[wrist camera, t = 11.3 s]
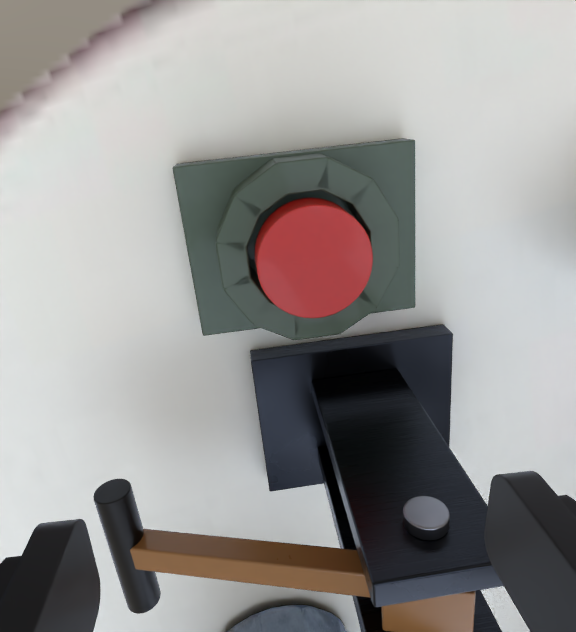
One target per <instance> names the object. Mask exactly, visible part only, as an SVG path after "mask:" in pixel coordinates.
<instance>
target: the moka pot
mask: <svg viewBox="0 0 576 632" xmlns="http://www.w3.org/2000/svg"><path fill="white" fill-rule="evenodd" d="M227 632H346V630H345V627H344V625H343V623H342V622H341V620H340V619H339V618H338V617H336V616H335V615H333V614H332V613H331V612H327V611H324V610H321V609H317V608H315V607H312V606H307V605H287V606H281V607H273V608H270V609H267V610H264V611H261V612H259V613H257V614H254V615H251V616H249V617H248V618H246V619H245V620H243V621H242V622H240V623H238V624H236V625H235V626H234V627H232V628H231V629H230V630H228V631H227Z"/></svg>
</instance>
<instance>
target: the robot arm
mask: <svg viewBox="0 0 576 632" xmlns="http://www.w3.org/2000/svg"><path fill="white" fill-rule="evenodd" d="M484 540H485V546H486V551H487V554H488V557H489V560H490V562H491V564H492V566H493V568H494V570H495V571H496V573H497V575H498V577H499V578H500V580H501V582H502V583H503V585H504V587H505V589H506V590H507V592H508V594H509V595H510V597H511V599H512V601H513V602H514V604H515V606H516V608H517V609H518V611H519V613H520V614H521V616H522V618H523V620H524V621H525V623H526V625H527V626H528V628H529V630H530V632H576V501H575V500H574V499H572V498H571V497H569V496H567V495H563V496H557V494H556V493H555V492H554V491H553V490H552V489H551V487H550V486H549V485H548V484H547V483H546V482H545V480H544V479H543V478H542V477H541V476H540V475H539V474H538V473H536V472H534V471H527V472H518V473H509V474H499V475H495V476H494V477H493V479H492V482H491V487H490V494H489V501H488V509H487V516H486V523H485V530H484ZM99 604H100V578H99V573H98V569H97V566H96V562H95V558H94V554H93V550H92V546H91V542H90V538H89V534H88V530H87V527H86V524H85V522H84V521H83V520H82V519H76V520H67V521H58V522H49V523H41V524H39V525H38V526H37V527H36V528H35V529H34V531H33V533H32V535H31V537H30V539H29V542H28V544H27V546H26V548H25V550H24V552H23V554H22V556H17V557H8V558H5V560H4V561H3V562H2V563H1V564H0V632H93V630H94V626H95V622H96V619H97V615H98V610H99Z"/></svg>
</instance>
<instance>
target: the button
mask: <svg viewBox="0 0 576 632" xmlns="http://www.w3.org/2000/svg"><path fill="white" fill-rule="evenodd" d="M255 262H256V268H257V274H258V279H259V282H260V285H261V287H262V289H263V291H264V292H265V294H266V295H267V297H268V298H269V299H270V300H271V301H272V302H273V303H274V304H275V305H276V306H277V307H278V308H280V309H282V310H283V311H285V312H287V313H289V314H291V315H295V316H298V317H303V318H321V317H326V316H329V315H333V314H335V313H337V312H339V311H341V310H343V309H345V308H346V307H348V306H349V305H350V304H351V303H353V302H354V301H355V300H356V299H357V298H358V297H359V295H360V294H361V293H362V291H363V290H364V288H365V286H366V285H367V282H368V280H369V278H370V274H371V271H372V265H373V253H372V247H371V242H370V240H369V237H368V235H367V233H366V231H365V229H364V228H363V227H362V225H361V224H360V223H359V222H358V221H357V220H356V219H355V218H354V217H353V216H352V215H351V214H349V213H348V212H347V211H346V210H344V209H343V208H342V207H340V206H339V205H337V204H335V203H333V202H331V201H328V200H325V199H321V198H301V199H296V200H293V201H290V202H288V203H286V204H284V205H282V206H281V207H279V208H278V209H276V210H275V211H274V212H273V213H272V214H271V215H270V216H269V217H268V218H267V219H266V221H265V222H264V224H263V225H262V227H261V229H260V231H259V233H258V236H257V239H256V244H255Z"/></svg>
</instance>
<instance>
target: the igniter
mask: <svg viewBox="0 0 576 632" xmlns="http://www.w3.org/2000/svg"><path fill="white" fill-rule="evenodd" d="M173 173H174V178H175V184H176V189H177V195H178V200H179V206H180V211H181V217H182V222H183V228H184V233H185V239H186V245H187V250H188V256H189V261H190V267H191V272H192V278H193V283H194V289H195V294H196V300H197V305H198V311H199V316H200V322H201V327H202V333H203V335H204V336H205V335H212V334H220V333H227V332H235V331H242V330H250V329H257V328H263V329H266V330H268V331H271V332H274V333H276V334H279V335H282V336H284V337H287V338H290V339H293V340H300V339H307V338H314V337H322V336H329V335H337V334H339V333H340V334H341V333H342V332H344V331H345V330H346V329H348V328H349V327H351V326H352V325H354V324H355V323H357V322H358V321H359V320H361V319H362V318H364V317H365V316H367V315H368V314H370V313H377V312H385V311H393V310H400V309H408V308H414V307H415V140H411V139H394V140H385V141H376V142H367V143H358V144H349V145H340V146H331V147H323V148H314V149H305V150H296V151H287V152H278V153H269V154H260V155H251V156H242V157H233V158H224V159H216V160H207V161H198V162H189V163H180V164H176V165H175V166H174V167H173ZM301 198H321V199H325V200H328V201H331V202H333V203H335V204H337V205H339V206H340V207H342V208H343V209H344V210H346V211H347V212H348V213H349V214H351V215H352V216H353V217H354V218H355V219H356V220H357V221H358V222H359V223H360V224H361V225H362V227H363V228H364V229H365V231H366V233H367V235H368V237H369V240H370V242H371V247H372V253H373V265H372V271H371V274H370V278H369V280H368V282H367V285H366V286H365V288H364V290H363V291H362V293H361V294H360V295H359V297H358V298H357V299H356V300H355V301H354V302H353V303H351V304H350V305H349V306H348V307H346V308H345V309H343V310H341V311H339V312H337V313H335V314H333V315H329V316H326V317H321V318H303V317H298V316H295V315H291V314H289V313H287V312H285V311H283V310H282V309H280V308H278V307H277V306H276V305H275V304H274V303H273V302H272V301H271V300H270V299H269V298H268V297H267V295H266V294H265V292H264V291H263V289H262V287H261V285H260V282H259V279H258V274H257V268H256V262H255V244H256V239H257V236H258V233H259V231H260V229H261V227H262V225H263V224H264V222H265V221H266V219H267V218H268V217H269V216H270V215H271V214H272V213H273V212H274V211H275V210H276V209H278V208H279V207H281V206H282V205H284V204H286V203H288V202H290V201H293V200H296V199H301Z"/></svg>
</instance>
